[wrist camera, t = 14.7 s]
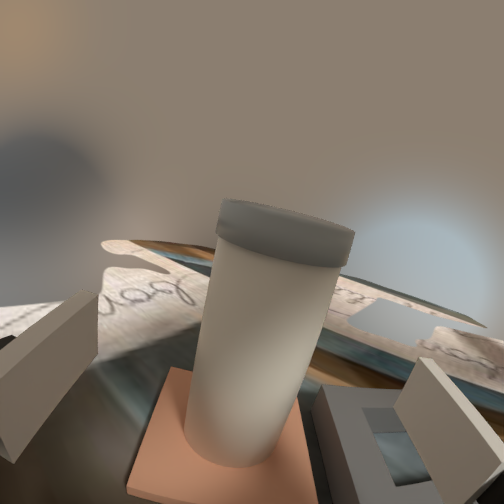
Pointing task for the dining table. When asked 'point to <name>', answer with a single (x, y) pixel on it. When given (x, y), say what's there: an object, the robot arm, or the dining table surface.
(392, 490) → the frame
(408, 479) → the dining table surface
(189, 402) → the filter cartridge
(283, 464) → the rubber mat
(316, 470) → the dining table surface
